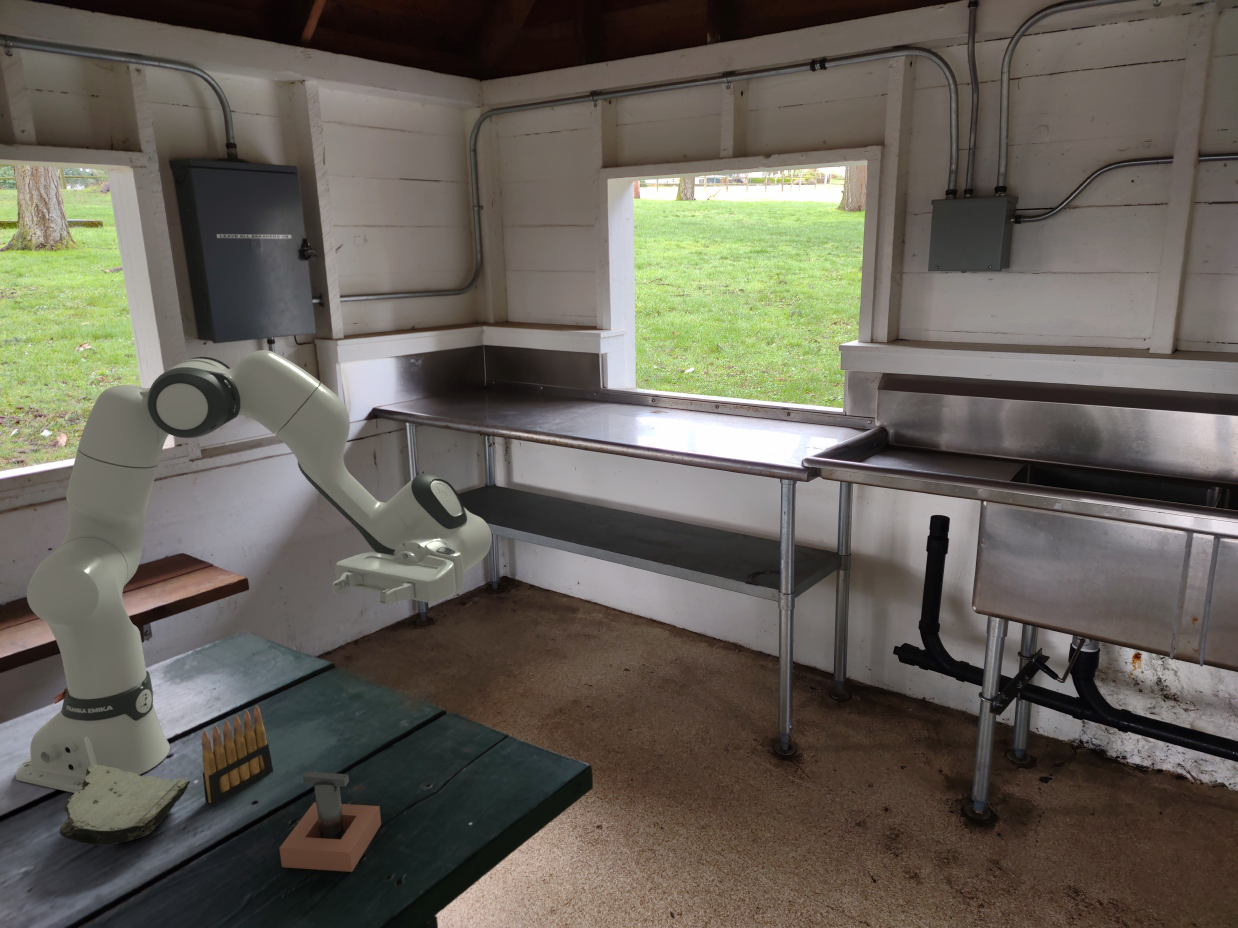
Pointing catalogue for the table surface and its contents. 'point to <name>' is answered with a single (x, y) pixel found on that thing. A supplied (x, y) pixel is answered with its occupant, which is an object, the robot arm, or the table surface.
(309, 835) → the orange square frame
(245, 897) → the table surface
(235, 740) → the ammunition clip
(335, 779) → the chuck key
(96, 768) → the concrete fragment
